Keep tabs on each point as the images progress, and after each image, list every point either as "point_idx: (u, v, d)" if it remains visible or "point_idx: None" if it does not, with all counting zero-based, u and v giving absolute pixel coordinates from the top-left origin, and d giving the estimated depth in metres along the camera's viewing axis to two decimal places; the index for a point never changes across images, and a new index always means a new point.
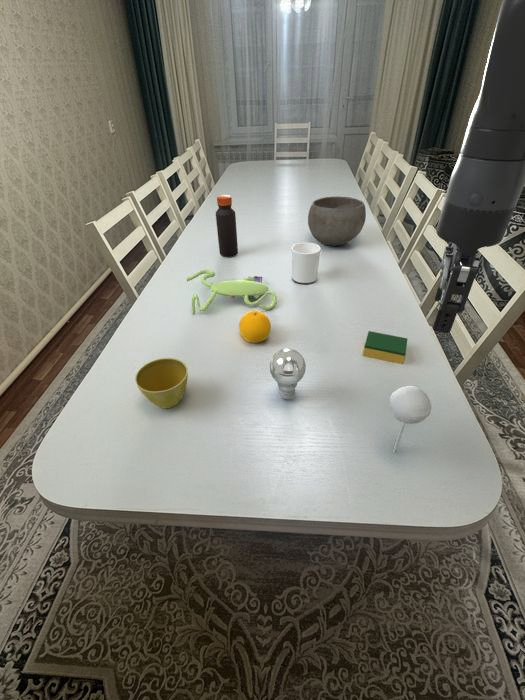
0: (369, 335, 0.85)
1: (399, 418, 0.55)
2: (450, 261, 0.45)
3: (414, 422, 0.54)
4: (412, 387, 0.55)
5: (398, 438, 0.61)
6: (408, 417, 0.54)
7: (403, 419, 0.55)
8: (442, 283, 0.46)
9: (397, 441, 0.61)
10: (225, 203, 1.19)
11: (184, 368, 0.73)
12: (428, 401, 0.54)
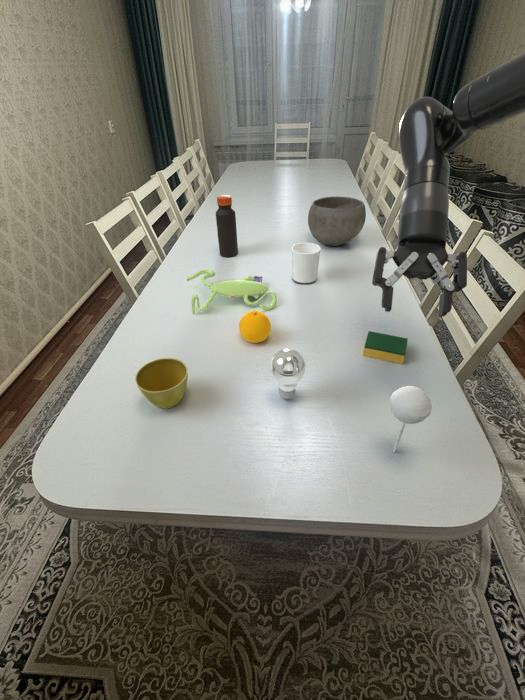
0: (369, 335, 0.85)
1: (399, 418, 0.55)
2: None
3: (414, 422, 0.54)
4: (412, 387, 0.55)
5: (398, 438, 0.61)
6: (408, 417, 0.54)
7: (403, 419, 0.55)
8: None
9: (397, 441, 0.61)
10: (225, 203, 1.19)
11: (184, 368, 0.73)
12: (428, 401, 0.54)
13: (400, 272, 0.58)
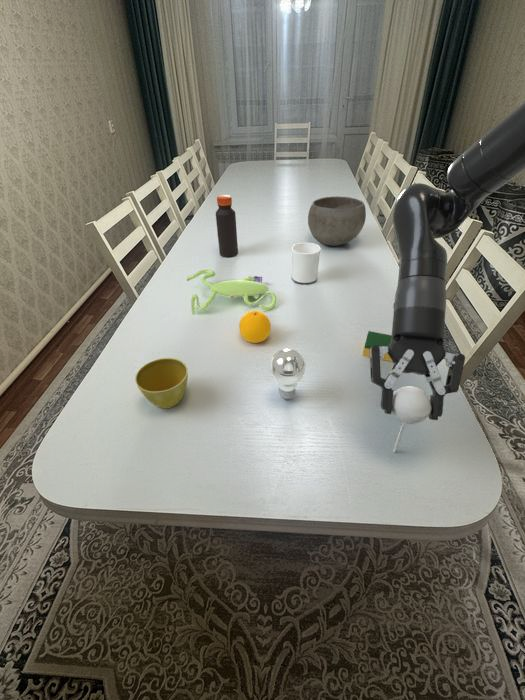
0: (369, 335, 0.85)
1: (399, 418, 0.55)
2: None
3: (414, 422, 0.54)
4: (412, 387, 0.55)
5: (398, 438, 0.61)
6: (408, 417, 0.54)
7: (403, 419, 0.55)
8: None
9: (397, 441, 0.61)
10: (225, 203, 1.19)
11: (184, 368, 0.73)
12: (428, 401, 0.54)
13: (398, 373, 0.54)
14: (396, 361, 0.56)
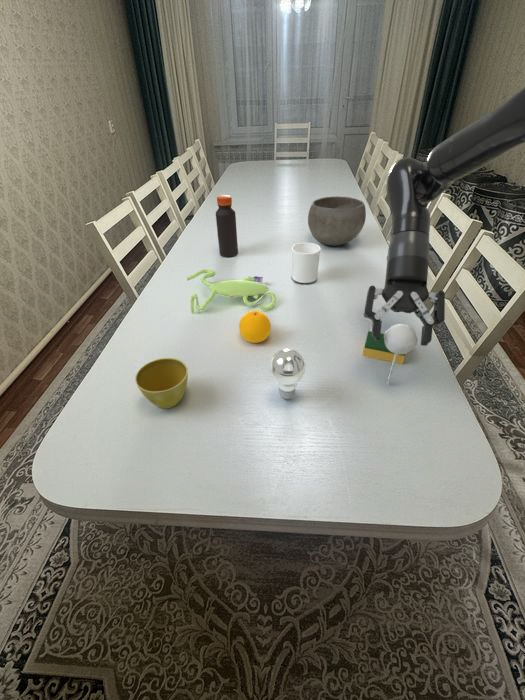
0: (369, 335, 0.85)
1: (391, 349, 0.68)
2: None
3: (403, 352, 0.68)
4: (402, 324, 0.68)
5: (391, 371, 0.74)
6: (398, 347, 0.67)
7: (394, 349, 0.68)
8: None
9: (390, 374, 0.75)
10: (225, 203, 1.19)
11: (184, 368, 0.73)
12: (414, 334, 0.67)
13: (387, 308, 0.67)
14: None
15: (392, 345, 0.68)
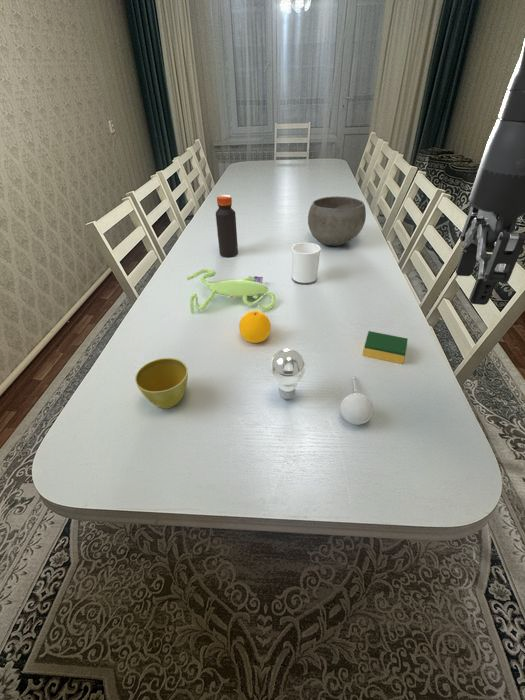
0: (369, 335, 0.85)
1: None
2: (486, 231, 0.45)
3: None
4: (351, 415, 0.65)
5: None
6: None
7: None
8: (481, 254, 0.45)
9: None
10: (225, 203, 1.19)
11: (184, 368, 0.73)
12: (366, 407, 0.65)
13: None
14: None
15: None
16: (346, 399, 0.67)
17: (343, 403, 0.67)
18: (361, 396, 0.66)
